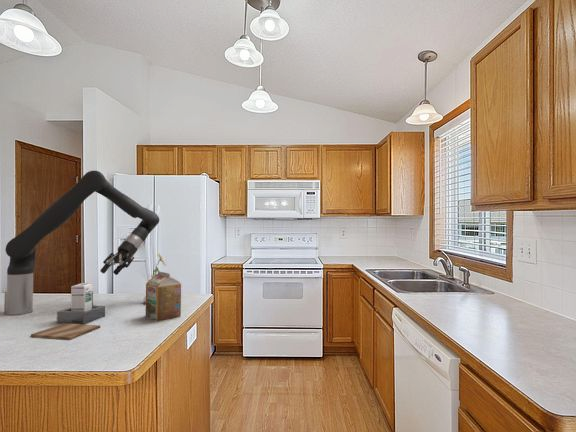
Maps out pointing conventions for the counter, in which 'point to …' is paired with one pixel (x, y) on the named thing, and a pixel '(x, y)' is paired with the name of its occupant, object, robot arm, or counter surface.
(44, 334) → the walnut mat
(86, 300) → the syrup box
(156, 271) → the flower in vase
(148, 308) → the milk carton
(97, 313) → the square socket
